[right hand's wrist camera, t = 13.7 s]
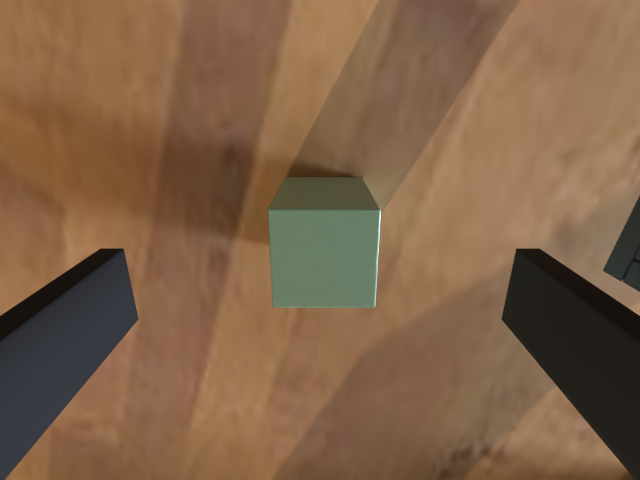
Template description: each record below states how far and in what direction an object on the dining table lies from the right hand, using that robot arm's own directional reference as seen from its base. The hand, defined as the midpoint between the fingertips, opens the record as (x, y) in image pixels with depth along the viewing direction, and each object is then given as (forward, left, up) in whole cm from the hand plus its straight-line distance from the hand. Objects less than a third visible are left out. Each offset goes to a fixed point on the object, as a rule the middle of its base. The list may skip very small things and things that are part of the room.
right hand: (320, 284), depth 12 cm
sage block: (0, 0, -10) cm, 10 cm away
